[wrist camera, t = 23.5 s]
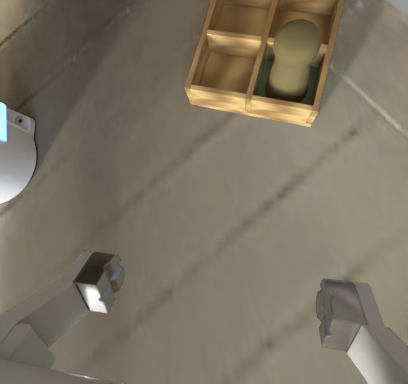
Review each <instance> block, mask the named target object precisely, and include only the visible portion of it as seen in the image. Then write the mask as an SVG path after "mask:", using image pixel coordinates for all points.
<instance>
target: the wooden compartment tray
mask: <svg viewBox="0 0 408 384" xmlns="http://www.w3.org/2000/svg"><path fill="white" fill-rule="evenodd" d="M344 2H345V0H211V3H210V6H209V10H208V13H207V16H206V19H205V23H204V26H203V29H202V33H201V36H200V39H199V42H198V46H197V49H196V52H195V55H194V59H193V62H192V65H191V69H190V72H189V75H188V78H187V82H186V85H185V91H186V93H187V95H188V98H189V100H190V102H191V104H192V105H197V106H202V107H207V108H213V109H218V110H223V111H229V112H234V113H239V114H245V115H250V116H255V117H260V118H266V119H271V120H276V121H282V122H287V123H292V124H298V125H303V126H308V127H311V125H312V123H313V121H314V119H315V117H316V116H317V114H318V112H319V108H320V103H321V99H322V95H323V91H324V86H325V82H326V78H327V74H328V69H329V65H330V61H331V57H332V53H333V48H334V44H335V40H336V36H337V31H338V27H339V23H340V19H341V14H342V10H343V6H344ZM295 19H305V20H309V21H310V22H312V23H314V24H315V25H316V27H317V28H318V29H319V32H320V34H321V46H320V49H319V51H318V54H317V56H316V57H315V58H314V59H313V60H312V62H311V66H310V74H309V81H308V89H307V93H306V95H305V97H304V99H303V100H302V101H301V102H300V103H296V102H290V101H284V100H278V99H272V98H267V96H266V92H265V86H266V82H267V80H268V77H269V74H270V71H271V68H272V65H273V62H274V60H275V55H274V51H273V45H274V39H275V37H276V34H277V32H278V31H279V30H280V28H281V27H282V26H283V25H285V24H286V23H288V22H289V21H292V20H295Z"/></svg>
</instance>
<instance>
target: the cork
mask: <svg viewBox="0 0 408 384" xmlns="http://www.w3.org/2000/svg"><path fill="white" fill-rule="evenodd" d="M320 46H321V34H320V32H319V29H318V28H317V27H316V25H315V24H314V23H312V22H310V21H309V20H305V19H295V20H292V21H289V22H288V23H286V24H285V25H283V26H282V27H281V28H280V30H279V31H278V32H277V34H276V37H275V39H274V45H273V51H274V55H275V60H274V62H273V65H272V68H271V71H270V74H269V77H268V80H267V82H266V86H265V92H266V96H267V98H272V99H278V100H284V101H290V102H296V103H300V102H301V101H302V100H303V99H304V97H305V95H306V93H307V89H308V81H309V74H310V66H311V62H312V60H313V59H314V58H315V57H316V56H317V54H318V51H319V49H320Z"/></svg>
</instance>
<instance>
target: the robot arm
mask: <svg viewBox="0 0 408 384" xmlns="http://www.w3.org/2000/svg"><path fill="white" fill-rule="evenodd" d="M34 131H35V121H34V120H33V119H32V118H30V117H28V116H25V115H23V114H21V113H18V112H16V111H14V110H11V109H9V108H7V107H6V105H5V104H3V103H1V102H0V203H4V202H6V201H9V200H11V199H12V198H14V197H15V196H17V195H18V194H19V193H20V192H21V191H22V190H23V189H24V188H25V186H26V185H27V184H28V182H29V181H30V179H31V177H32V175H33V172H34V169H35V165H36V147H35V142H34ZM120 261H121V259H120V257H119V255H115V254H108V253H102V252H95V251H87V250H84V251H83V252H81V253H80V254H79V256H78V257H77V259H76V260H75V261H74V263H73V264H72V266H71V267H70V268H69V270H68V271H67V272H66V274H65V275H64V277H63V278H62V279H61V281H56V282H54V283H53V284H51V285H50V286H48V287H46V288H45V289H43V290H41V291H40V292H38V293H36V294H35V295H33V296H32V297H30V298H28V299H27V300H25V301H23V302H22V303H20V304H18V305H17V306H15V307H13V308H12V309H10V310H9V311H7V312H5V313H4V314H2V315H0V384H122V383H117V382H112V381H108V380H103V379H98V378H93V377H88V376H83V375H78V374H73V373H68V372H63V371H59V370H54V369H50V367H51V366H52V364H53V362H54V360H55V358H54V355H53V354H52V352H51V351H50V350H49V349H48V347H49V346H51V345H52V344H53V343H54V342H55V341H56V340H58V339H59V338H60V337H61V336H62V335H63V334H64V333H66V332H67V331H68V330H69V329H70V328H71V327H72V326H74V325H75V324H76V323H77V322H78V321H79V320H81V319H82V318H83V317H84V316H85V315H86V314H87V313H89V311H95V312H103V313H109V311H110V309H111V307H112V305H113V303H114V301H115V294H114V293H116V292H117V291H119V290H120V288H121V286H122V284H123V281H124V277H125V275H124V268H123V267H122V266H121V265H120V264H119V263H120ZM320 286H321V290H320V291H318V293H317V297H316V313H317V318H318V319H319V320H320V321H321V324H320V327H319V332H320V339H321V345H322V347H325V348H330V349H335V350H341V351H346V352H347V354H348V355H349V356H350V358H351V359H352V361H353V362H354V364H355V365H356V366H357V368H358V369H359V371H360V372H361V374H362V375H363V376H364V378H365V379H366V381H367V382H368V384H408V346H407V345H406V344H405V343H404V342H403V341H402V340H401V339H400V338H399V337H398V336H397V335H396V334H395V333H394V332H393V331H392V330H391V329H390V328H386V327H385V326H384V323H383V321H382V318H381V315H380V312H379V310H378V307H377V304H376V301H375V299H374V296H373V293H372V290H371V288H370V286H369V285H368V284H367V283H359V282H351V281H343V280H334V279H324V278H323V279H322V281H321V284H320Z"/></svg>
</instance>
